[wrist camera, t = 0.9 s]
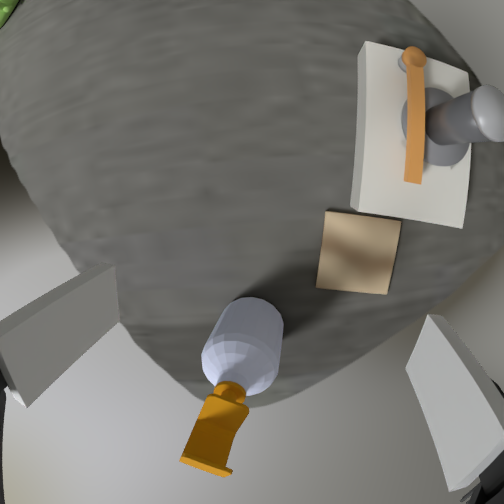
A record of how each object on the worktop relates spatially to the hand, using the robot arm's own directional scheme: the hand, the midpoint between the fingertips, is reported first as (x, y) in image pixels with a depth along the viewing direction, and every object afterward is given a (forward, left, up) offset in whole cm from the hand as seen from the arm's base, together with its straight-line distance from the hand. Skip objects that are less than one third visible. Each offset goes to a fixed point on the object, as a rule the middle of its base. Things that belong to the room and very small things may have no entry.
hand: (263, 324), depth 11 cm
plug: (-13, +16, -26) cm, 33 cm away
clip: (-14, +12, -19) cm, 27 cm away
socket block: (-12, +14, -26) cm, 32 cm away
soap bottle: (+16, -4, -26) cm, 31 cm away
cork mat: (+4, +9, -26) cm, 28 cm away
